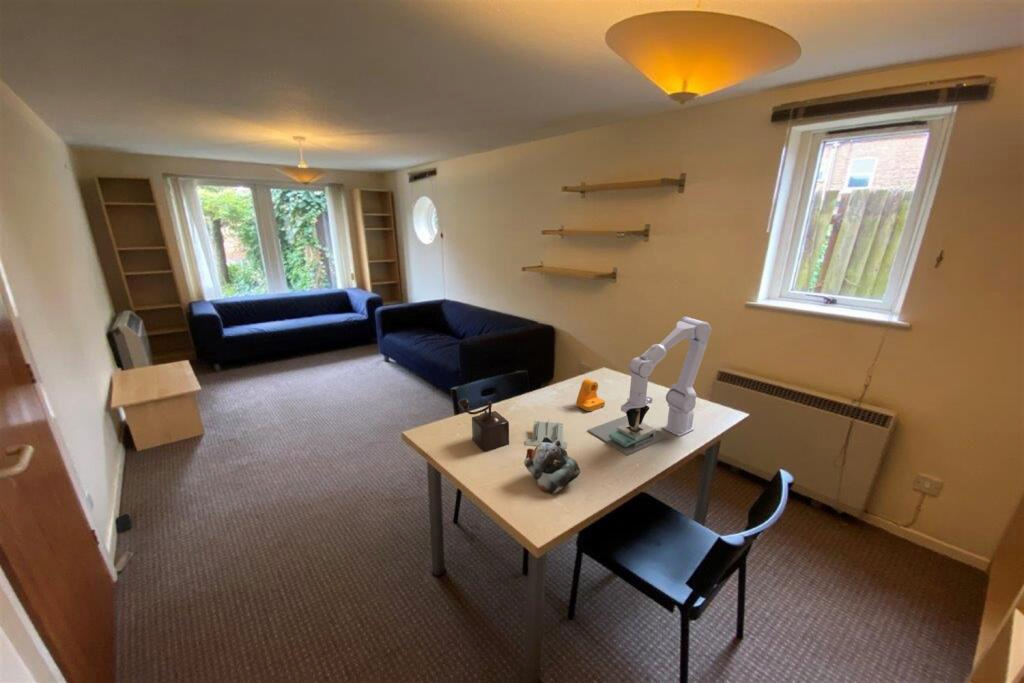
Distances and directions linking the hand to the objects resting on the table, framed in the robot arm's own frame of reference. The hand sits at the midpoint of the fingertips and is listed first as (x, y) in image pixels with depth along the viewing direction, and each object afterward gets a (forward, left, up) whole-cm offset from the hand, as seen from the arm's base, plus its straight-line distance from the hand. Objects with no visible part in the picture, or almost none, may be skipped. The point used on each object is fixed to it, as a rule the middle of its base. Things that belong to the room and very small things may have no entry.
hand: (634, 424), depth 146 cm
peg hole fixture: (+1, 0, -6) cm, 6 cm away
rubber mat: (-1, -4, -6) cm, 7 cm away
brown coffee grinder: (+48, -28, -6) cm, 56 cm away
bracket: (-6, -29, -6) cm, 30 cm away
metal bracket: (+26, -18, -7) cm, 33 cm away
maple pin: (0, 0, -2) cm, 2 cm away
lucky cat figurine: (+41, +3, -6) cm, 41 cm away
